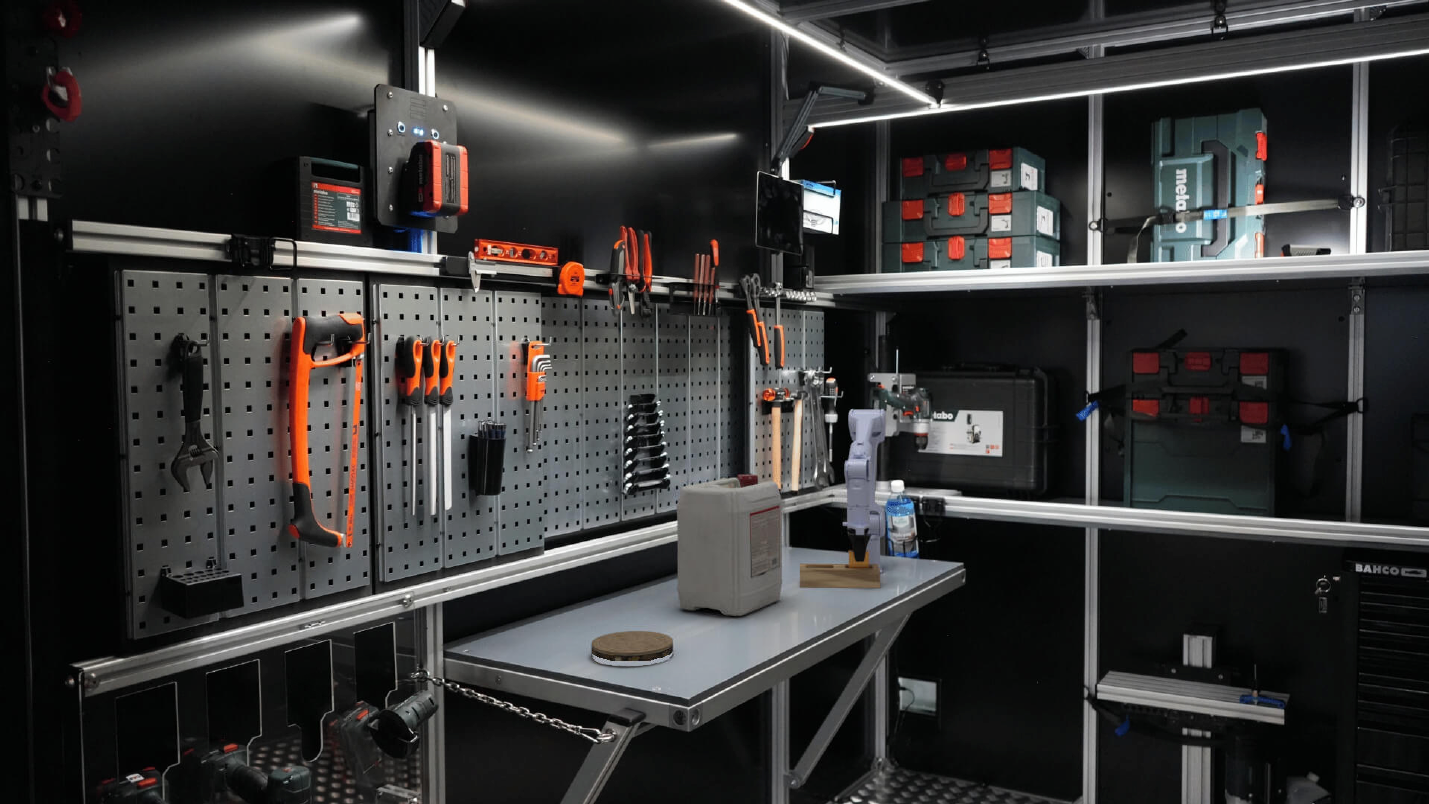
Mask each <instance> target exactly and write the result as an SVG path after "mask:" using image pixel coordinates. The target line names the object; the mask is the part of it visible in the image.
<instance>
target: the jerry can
mask: <svg viewBox="0 0 1429 804" xmlns="http://www.w3.org/2000/svg"><path fill="white" fill-rule="evenodd" d="M778 485H779V484H778V483H776V481H774V480H768V481H764V482H759V478H758V475H757V474H738V475H737V477H729V478H725V477H722V478H720V479H717V480H712V481H711V480H709V481H707V482H706V481H705V482H702V483H695V484H687V485H686V486H682V487H681V488H680V491H679V496H678V500H677V504H676V514H677V515H676V517H677V526H676V529H677V533H676V534H677V588H676V590H677V595H678V599H679V604H680V605H679V606H680V607H681V609H683V610H686V611H692V612H693V611H698V610H699V609H705V608H708V609H710V610H718V611H720V612H721V614H723V615H724V616H732V617H741V616H744V615H747V614H749V613H752V612H755V611H756V610H759V609H761V608H763V607H764V608H765V607H767V606H768V605H771V604H772V603H775V602H777V601H779V600H780V597H781V592H782V585H783V564H782V559H783V553H782V551H783V544H782V543H783V542H782V541H783V539H782V537H783V536H782V533H783V531H782V529H783V528H782V527H783V526H782V525H783V521H782V518H783V517H782V513H783V512H782V511H783V510H782V508H783V507H782V504H783V500H782V497H781V493H780V490H779V486H778Z"/></svg>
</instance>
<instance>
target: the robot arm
mask: <svg viewBox="0 0 1429 804" xmlns="http://www.w3.org/2000/svg"><path fill="white" fill-rule="evenodd" d="M886 416H887V413H886V411H885V410H884V408H881V409H854V408H852V409H850V410H849V412H848V429H849V434H850V437H851V440H852V441H853V442H852V443H851V444H850V448H849V455H848V459H847V460H845V462H844V477H845V478H844V479H845V488H846V508H847V509H846V510H847V511H846V516H847V517H846V518H847V519H846V520H847V521H843V522H842V526H843V527H847V528H846V531H847V535H848V538H849V539H850V543H851V547H852V550H853V551H854V557H855V561H856V562H864V559H865V554H866V551H869V564H878V566H879V569H880V574H883V572H884V571H883V569H882V567H881V538H883V537H884V536H885V534H886V512H885V510H884V507H883V506H881V505H880V504H879V503H877V502H876V476H877V475H876V474H877V472H876V471H877V470H876V469H877V450H878V447H879V444H880V443H882V442H884V441H885V437H886V430H887V429H886V427H887V425H886V424H887V417H886Z"/></svg>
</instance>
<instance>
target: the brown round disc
mask: <svg viewBox="0 0 1429 804" xmlns="http://www.w3.org/2000/svg"><path fill="white" fill-rule="evenodd" d="M590 652H591V655H592V654H593V655H595V656H597V657H599V658H603V659H607V660H610V661H651V660H654V659H657V658H663V657H665V656H667V655H670V654H671V653H672V652H673V653H674V638H673V637H671V636H670V635H668V634H664V633H662V632H655V631H647V630H627V631H620V632H619V631H617V632H613V633H612V632H611V633H607V634H603V635H601V636H598V637H596V638H594V639H593V640H592V642H591V651H590Z"/></svg>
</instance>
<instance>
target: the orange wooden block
mask: <svg viewBox="0 0 1429 804" xmlns="http://www.w3.org/2000/svg"><path fill="white" fill-rule="evenodd" d="M848 564H849V568H869V551H866V554H865V559H864V562H856V561H855V557H854V551H853V549H851V550H850V549H849V550H848Z"/></svg>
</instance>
